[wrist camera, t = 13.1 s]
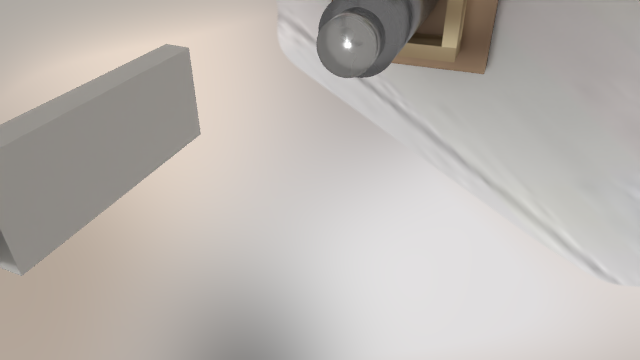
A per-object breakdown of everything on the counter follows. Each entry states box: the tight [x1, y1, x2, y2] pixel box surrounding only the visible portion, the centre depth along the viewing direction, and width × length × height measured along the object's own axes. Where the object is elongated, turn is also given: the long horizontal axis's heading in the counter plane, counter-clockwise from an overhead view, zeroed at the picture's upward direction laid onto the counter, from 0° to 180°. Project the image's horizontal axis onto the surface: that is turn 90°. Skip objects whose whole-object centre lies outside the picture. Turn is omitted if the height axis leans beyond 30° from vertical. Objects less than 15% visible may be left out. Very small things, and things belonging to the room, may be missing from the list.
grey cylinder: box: [317, 0, 439, 78], centre depth 29 cm, size 4×4×14 cm
